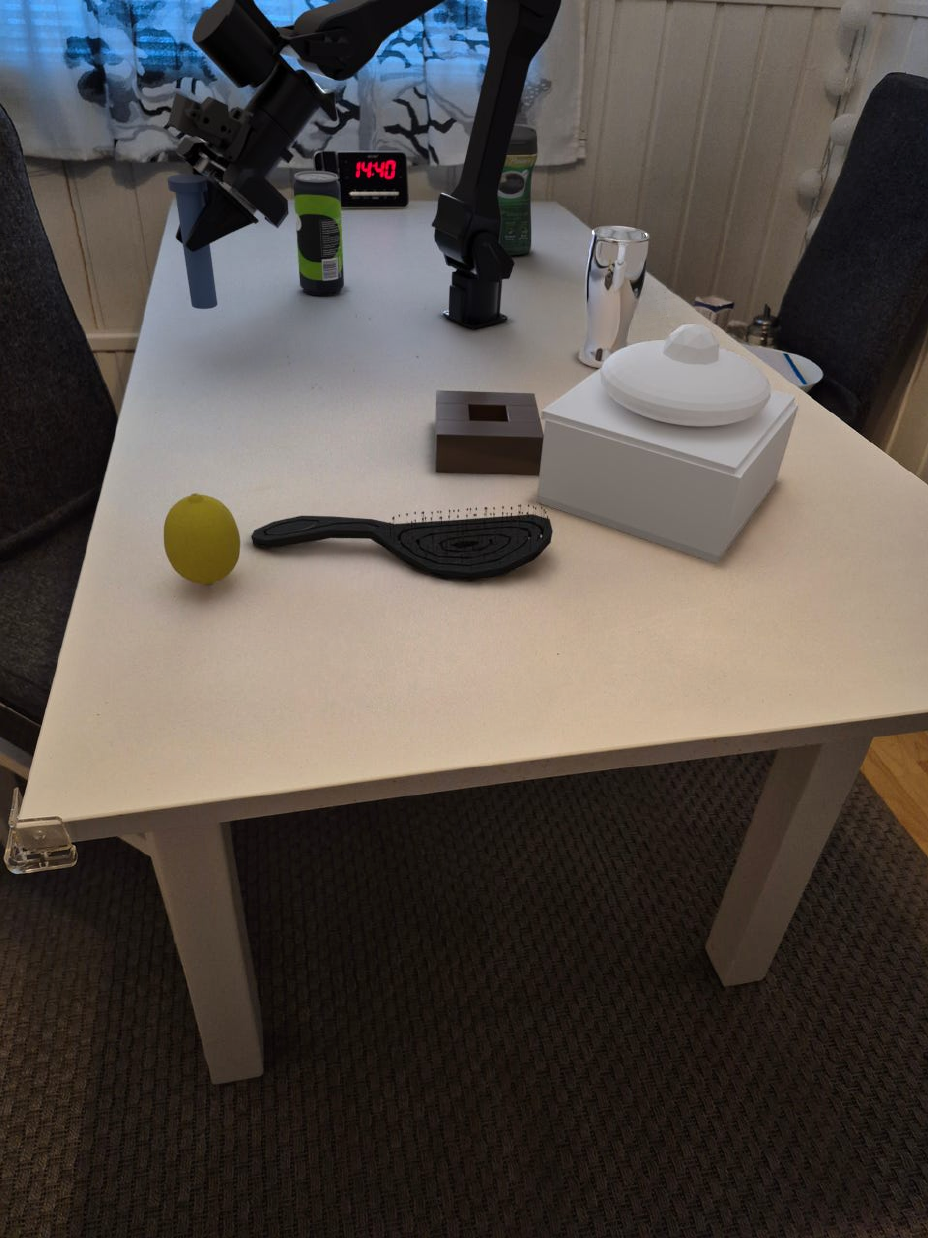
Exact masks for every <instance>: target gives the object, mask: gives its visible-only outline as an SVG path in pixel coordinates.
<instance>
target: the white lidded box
mask: <svg viewBox="0 0 928 1238" xmlns="http://www.w3.org/2000/svg"><path fill="white" fill-rule="evenodd" d="M720 345H721V343H720V341H719V340H718V338H717V336H716V335H715V334H714V332H713V330H711V328H708V327H707V326H705V325H703V324H702V323H683V324H681V325H680V326H679V327H678V328H676V329H675V330H673V331H672V332H671V333H669V334H668V336H667V338H666V339H659V340H658V339H656V340H655V339H654V340H647V341H641V342H636V343H633V344H630V345H627V347H624V348H621V349H620V350H618V351H616V352H614V353H613V354H612V355H610V356H609V357H608V358H607V359H606V360H605V361H604V363H603V365H602V367H601V368H598V369H597V370H596V371H594V372H592V374H590V375H589V376H587V377H586V378H584V380H582V381H581V382H579V383H578V384H576V385H575V386H574V387H572V388H571V389H570V390H568V391H567V392H565V393H564V394H563V395H561V396H560V397H558V398H557V399H555V400H554V401H552V402H551V403H550V404H549V405H547V406H546V407H544V408H543V409H542V410H541V414H540V420H545V422H544V428H543V429H544V430H543V434H544V438H543V448H542V457H541V466H540V475H539V476H538V478H539V479H538V485H537V493H536V494H537V495H536V503H539V504H541V505H544V506H546V507H550V508H553V509H556V510H559V511H561V512H564V513H567V514H571V515H574V516H577V517H579V518H582V519H586V520H588V521H591V522H594V523H597V524H600V525H603V526H606V527H609V528H611V529H613V530H618V531H619V532H623V533H626V534H628V535H632V536H635V537H637V538H640V539H643V540H646V541H649V542H652V543H655V544H658V545H661V546H664V547H667V548H670V549H673V550H676V551H678V552H681V553H683V554H687V555H689V556H693V557H697V558H699V559H702V560H705V561H708V562H710V563H713V564H718V563H719V562H720V560H721V559H722V558H723V556H724V555H725V553H726V552H727V551H728V550H729V548H730V547H731V545H733V543H734V541H735V540H736V538H737V537H738V536H739V534H740V533H741V532H742V531H743V529H744V527H745V526H746V525H747V523H748V522H749V520H750V519H751V518H752V516H753V515H754V514H755V512H756V511H757V510H758V509H759V507H760V505H761V504H762V503H763V502H764V500H765V498H766V497H767V496H768V495H769V493H770V491H771V490H772V489H773V487H774V486H775V484H776V483H777V480H778V477H779V473H780V470H781V467H782V463H783V460H784V456H785V453H786V450H787V446H788V444H789V441H790V440H789V439H790V436H791V433H792V430H793V426H794V423H795V419H796V416H797V413H798V410H799V406H800V404H798V403H795V399H796V395H794V394H790V393H786V392H782V391H778V390H774V389H771V386H772V385H771V383H770V381H769V379H768V377H767V376H766V374H765V373H764V372H763V370H762V369H761V368H759V367H758V366H757V365H756V364H754V363H753V362H752V361H750V360H749V359H747V358H745V357H744V356H742V355H740V354H738V353H736V352H734V351H731V350H728V349H725V348H722V347H721V346H720Z"/></svg>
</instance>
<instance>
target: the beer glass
mask: <svg viewBox="0 0 928 1238" xmlns="http://www.w3.org/2000/svg"><path fill="white" fill-rule="evenodd" d="M650 237H651V235H650V234H649V232H647V231H645V230H643V229H640V228H636V227H632V226H625V225H601V226H598V227H595V228H593V229H592V233H591V239H590V244H589V249H588V253H587V258H586V265H585V273H584V275H585V276H584V303H585V304H584V306H585V330H584V336H583V341H582V344H581V347H580V350H579V353H578V360H579V361H580V362H581V363H582V364H584V365H586V366H588V367H590V368H595V369H600V368H601V367H602V365H603V363H604V361H605V360H606V359H607V358H608V357H609V356H610V355H612V354H613V353H614V352H616V351H618V350H620V349H621V348H624V347H627V346H628V342H629V341H628V340H629V332H630V328H631V324H632V320H633V319H634V316H635V313H636V310H637V307H638V304H639V301H640V299H641V295H642V290H643V288H644V282H645V277H646V273H647V265H648V258H649V257H648V256H649V244H650Z"/></svg>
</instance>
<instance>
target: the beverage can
mask: <svg viewBox="0 0 928 1238" xmlns="http://www.w3.org/2000/svg"><path fill="white" fill-rule="evenodd" d="M294 179H295V180H294V182H293V184H292V187H293V188H292V189H293V203H294V217H295V232H296V233H295V234H296V247H297V260H298V274H299V275H298V277H299V286H300V287H301V288H302V289H303V291H304V292H305V293H306V294H308V295H312V296H316V297H317V296H318V297H327V296H333V295H337V294H339V293H340V292H341V290H342V289H343V288H344V286H345V276H344V275H345V274H344V271H345V270H344V247H343V223H342V220H343V219H342V199H341V195H342V194H341V184H340V182H339V181H338V179H339V176H338V174H337V173H334V172H331V171H325V170H305V171H300V172H297V173H295V174H294Z"/></svg>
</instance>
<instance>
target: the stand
mask: <svg viewBox="0 0 928 1238" xmlns="http://www.w3.org/2000/svg"><path fill="white" fill-rule="evenodd" d="M537 403H538V402H537V399H536V394H535V393H534V392H507V391H506V392H505V391H503V392H502V391H500V392H499V391H477V390H476V391H471V390H441V389H437V390H435V416H434V417H435V421H434V439H435V440H434V443H435V444H434V446H435V447H434V448H435V449H434V451H435V452H434V454H435V455H434V456H435V462H434V463H435V464H434V465H435V472H436V473H464V474H499V475H500V474H501V475H535V476H536V475H537V476H538V475H540V466H541V457H542V448H543V438H544V430H543V429H544V428H543V426H542V422H541V415H540V413H539V408H538V404H537Z"/></svg>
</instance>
